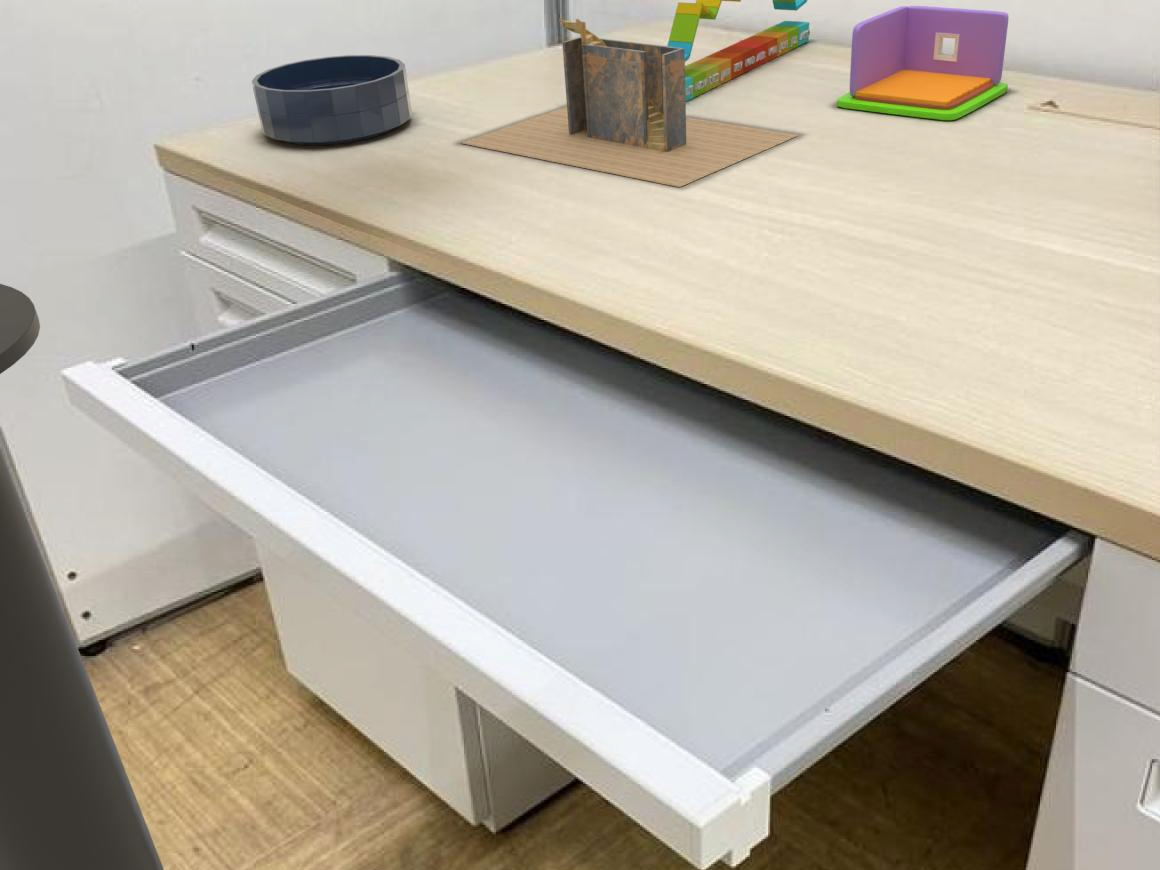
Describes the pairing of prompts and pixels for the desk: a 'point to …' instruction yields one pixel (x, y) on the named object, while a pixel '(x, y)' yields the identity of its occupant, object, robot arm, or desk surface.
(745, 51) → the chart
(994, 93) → the dollhouse room
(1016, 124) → the desk surface
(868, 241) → the desk surface
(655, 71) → the architectural model on board
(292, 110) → the bowl
